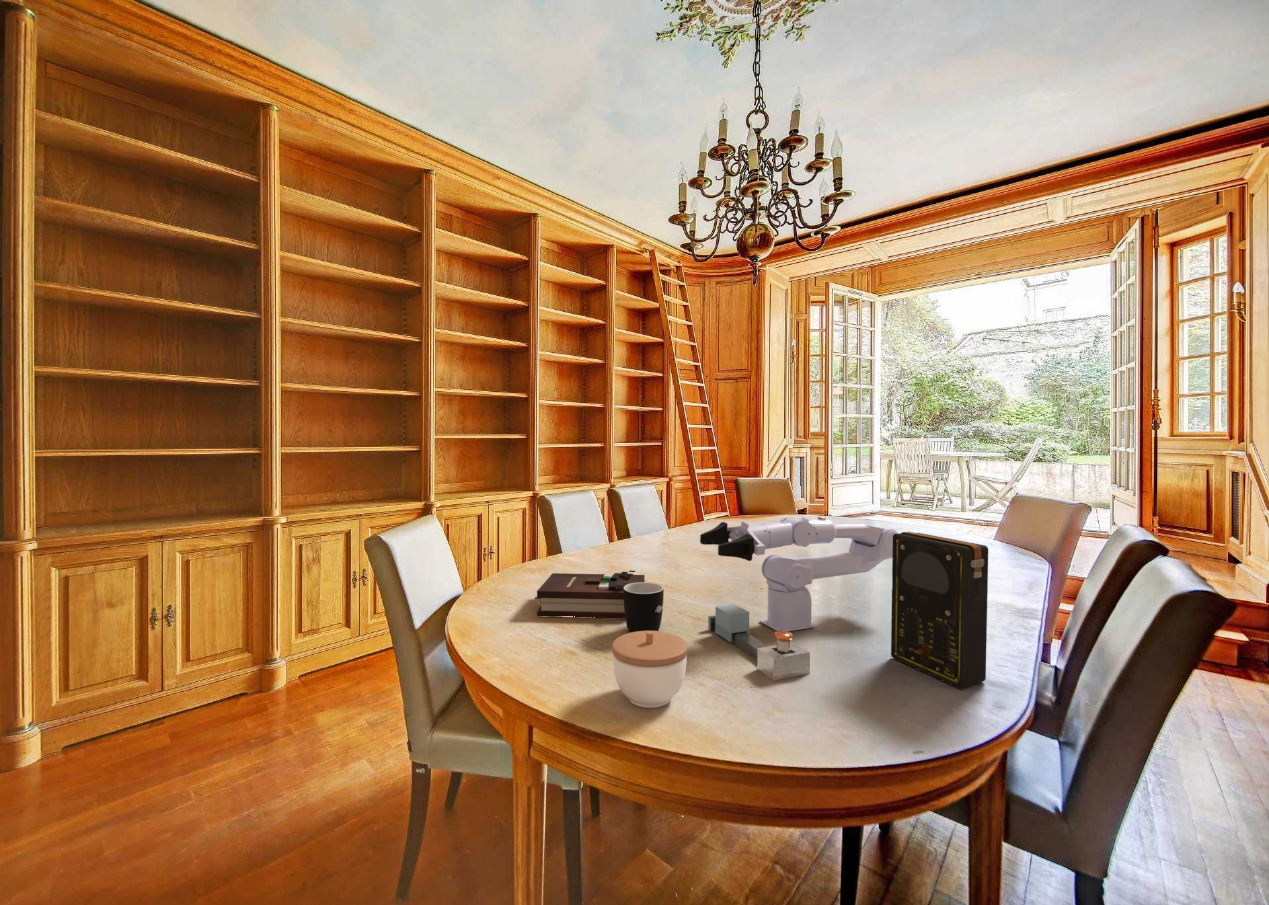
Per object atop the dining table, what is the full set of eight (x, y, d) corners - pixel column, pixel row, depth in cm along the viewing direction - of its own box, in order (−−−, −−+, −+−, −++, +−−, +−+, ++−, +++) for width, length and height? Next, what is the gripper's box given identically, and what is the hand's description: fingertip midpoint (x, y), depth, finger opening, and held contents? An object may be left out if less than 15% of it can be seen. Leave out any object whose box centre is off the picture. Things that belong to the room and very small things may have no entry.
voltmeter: (885, 658, 105) (886, 532, 105) (916, 651, 109) (918, 529, 108) (960, 693, 91) (963, 547, 90) (993, 684, 94) (996, 543, 94)
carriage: (734, 629, 120) (734, 603, 120) (749, 638, 114) (749, 612, 114) (715, 632, 118) (715, 606, 118) (729, 642, 113) (729, 614, 112)
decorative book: (545, 568, 148) (653, 570, 145) (545, 596, 148) (653, 598, 146) (525, 588, 128) (650, 591, 126) (526, 620, 129) (650, 623, 126)
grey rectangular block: (792, 662, 103) (792, 642, 103) (809, 673, 99) (809, 652, 98) (757, 669, 100) (757, 648, 100) (773, 680, 96) (773, 658, 96)
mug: (659, 641, 114) (659, 594, 114) (618, 638, 116) (618, 591, 116) (668, 622, 126) (668, 579, 125) (631, 619, 128) (631, 577, 127)
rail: (727, 626, 123) (727, 613, 123) (787, 665, 102) (787, 649, 102) (708, 629, 121) (708, 616, 121) (765, 669, 100) (765, 653, 100)
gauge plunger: (785, 656, 101) (785, 629, 101) (795, 662, 98) (796, 635, 98) (771, 658, 100) (771, 631, 100) (781, 665, 97) (781, 638, 97)
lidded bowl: (611, 681, 96) (610, 620, 95) (680, 679, 96) (681, 618, 96) (613, 718, 83) (613, 648, 83) (693, 715, 84) (693, 646, 84)
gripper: (744, 511, 127) (693, 517, 122) (783, 529, 113) (728, 537, 108) (743, 539, 128) (693, 547, 123) (781, 560, 115) (727, 570, 110)
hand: (709, 544), depth 116 cm, fingers open, 7 cm apart
